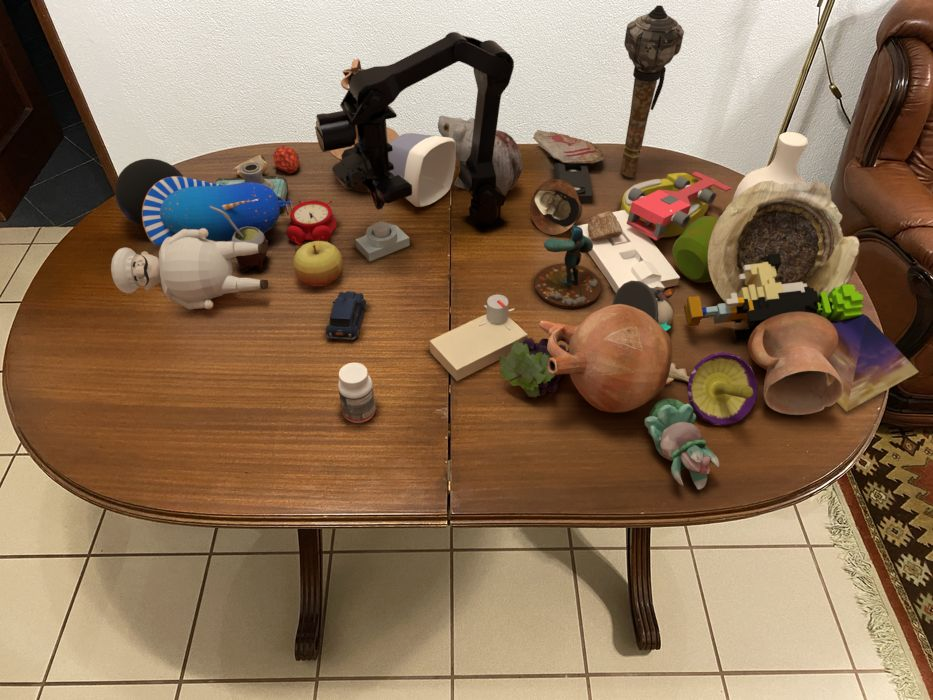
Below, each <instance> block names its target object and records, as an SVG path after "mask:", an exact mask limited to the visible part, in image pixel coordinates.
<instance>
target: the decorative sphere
mask: <svg viewBox="0 0 933 700" xmlns="http://www.w3.org/2000/svg"><path fill="white" fill-rule="evenodd" d="M173 176H180V177H184V175H183V174H182V173H181V171H179V170H178V169H177V168H176V167H175V166H174V165H172V164H171V163H169V162H167V161H164V160H161V159H157V158H142V159H138V160H134V161H133V162H130V163H129V164H128V165H126V166H125V167H124V168H123V169H122V170H121V172H120V173H119V175H118V177H117V179H116V182H115V187H114V196H115V200H116V203H117V205H118V207H119V209H120V211H121V212H122V213H123V215H124V216H125V217H126V218H127V219H128V220H129V221H131V222H132V223H134V224H135V225H137V226H139V227H141V228H144V226H143V221H142V207H143V203H144V200H145V197H146V195H147V193H148V191H149V190H150V189H151V187H152V186H153V185H154V184H155V183H157V182H158V181H160V180H162V179H164V178H167V177H173Z"/></svg>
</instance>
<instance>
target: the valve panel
mask: <svg viewBox="0 0 933 700" xmlns="http://www.w3.org/2000/svg"><path fill="white" fill-rule="evenodd" d="M483 307H484V308H485V309H487V304H484V305H483ZM515 309H516V308H511V309H508V313H511V312H513V311H515ZM525 338H529V334H528V333H527V332H526V331H525V330H524V329H523V328H521V327H520V325H518V324H517V323H516V322H515V321H514V320H513V319H512V318H511V317H510V316H509V315H508V318H507V320H506V322H504V323H502V324H493V323H490V322H489V321H488V320H487V313H485V314H483V315H481V316H479V317H476V318H475V319H472V320H470V321H468V322H466V323H463V324H462V325H460V326H457V327H456V328H453V329H451V330H449V331H447V332H445V333H442V334H440V335H439V336H436V337H434V338H432V339H430V340H429V352H430V354H431V355H432V357H434V358H435V359H436V360H437V361H438V362H439V363H440V365H441V366H442V367H443V368H444V369H445V370H446V371H447V372H448V373H449V375H451V377H452V378H453V379H454V381H456V382H459V381H460V380H462V379H464V378H466V377H468V376H470V375H472V374H474V373H476V372H478V371H480V370H482V369H484V368H486V367H488V366H490V365H491V364H494V363H495V362H498V361H500V359H499V356H502V357H507V353H509V354H511V348H512V349H513V347H512V346H513V345H514V343H515V341H516V340H517V341H518V342H519V343H520V344H521V343H522V342H523V340H524V339H525Z"/></svg>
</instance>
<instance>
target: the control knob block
mask: <svg viewBox="0 0 933 700" xmlns="http://www.w3.org/2000/svg"><path fill="white" fill-rule="evenodd" d="M388 224H389V226H390V234H389V236H386V237H381V238H379V237H375V236H374V234H373V225H374V224H371V225H370V226H369V227H367V229H366V234H365V235H363V236H361V237H358V238H355V239H354V240H355V248H356V249H357V250H358V251H359V252H360V253H361V254H362V255H363V256H364V257H365V258H366V259H367V260H368V261H369V262H372V261H375V260H377V259H380V258H382V257H385V256H387V255H389V254H393V253H395V252H397V251H399V250H403V249H405V248H407V247H410V245H411V243H410V236H408V234H406V233H405V232H404V231H403V230H402V229H401V228H400V227H399V226H397V224H395V223H394V224H392V223H388Z"/></svg>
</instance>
